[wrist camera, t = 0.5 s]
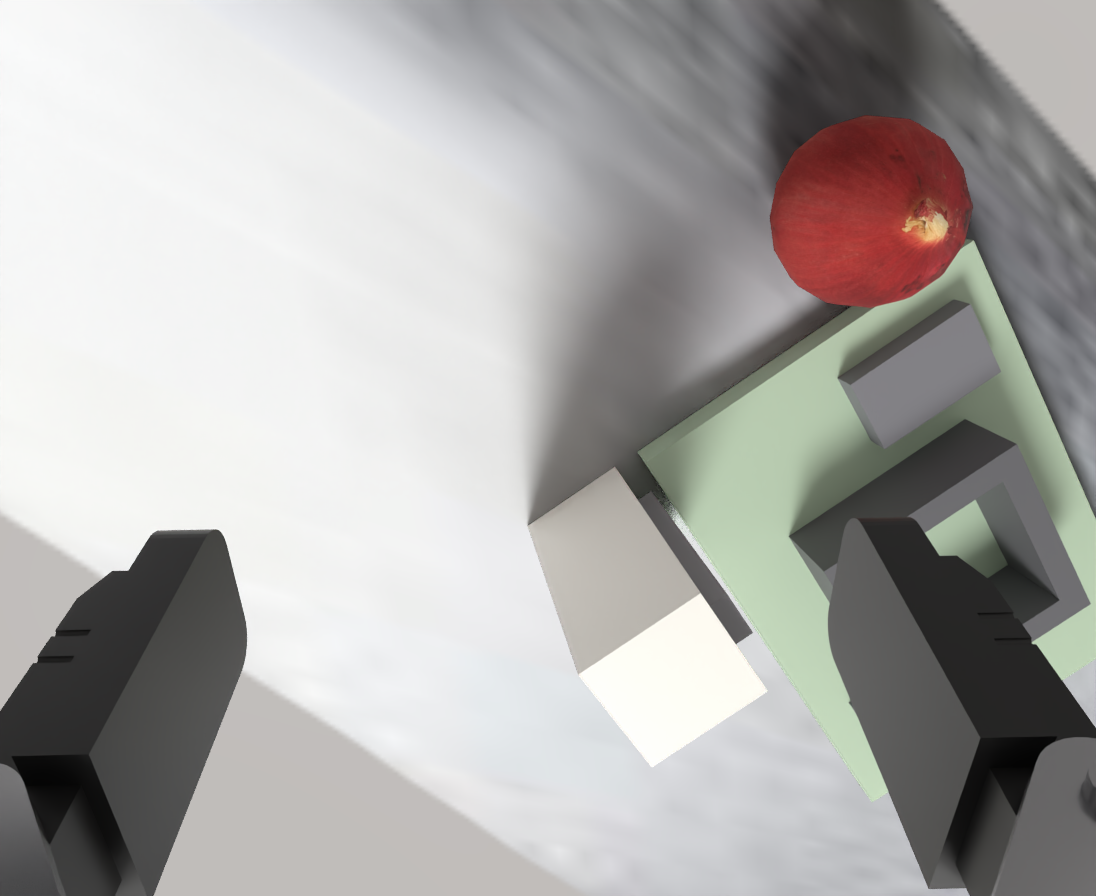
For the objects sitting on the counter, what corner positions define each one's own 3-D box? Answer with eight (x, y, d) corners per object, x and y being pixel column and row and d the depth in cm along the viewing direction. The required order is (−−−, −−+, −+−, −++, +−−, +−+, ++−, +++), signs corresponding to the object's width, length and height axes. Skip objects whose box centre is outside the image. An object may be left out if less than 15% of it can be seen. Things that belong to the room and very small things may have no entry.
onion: (908, 130, 31) (1072, 125, 23) (871, 295, 32) (1012, 340, 25) (752, 108, 29) (871, 96, 22) (722, 280, 31) (823, 323, 24)
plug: (527, 526, 33) (578, 674, 24) (627, 457, 33) (719, 580, 24) (583, 599, 35) (651, 767, 25) (680, 534, 34) (785, 679, 25)
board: (637, 451, 33) (669, 493, 29) (953, 237, 32) (1030, 249, 28) (858, 783, 40) (909, 853, 36) (1122, 614, 39) (1202, 666, 35)
